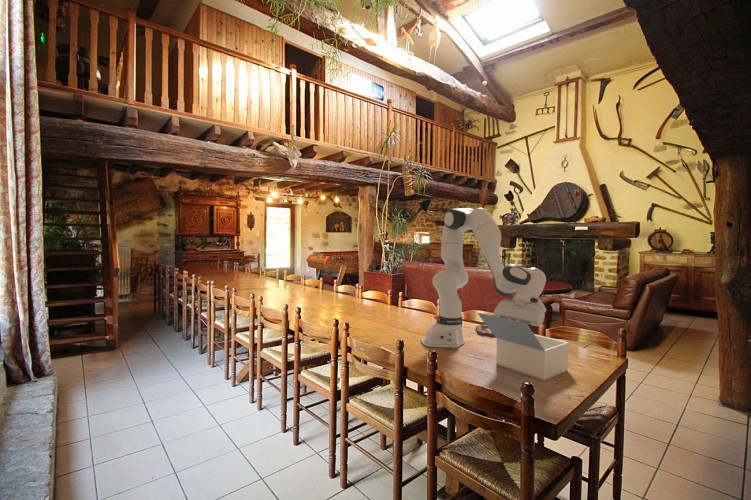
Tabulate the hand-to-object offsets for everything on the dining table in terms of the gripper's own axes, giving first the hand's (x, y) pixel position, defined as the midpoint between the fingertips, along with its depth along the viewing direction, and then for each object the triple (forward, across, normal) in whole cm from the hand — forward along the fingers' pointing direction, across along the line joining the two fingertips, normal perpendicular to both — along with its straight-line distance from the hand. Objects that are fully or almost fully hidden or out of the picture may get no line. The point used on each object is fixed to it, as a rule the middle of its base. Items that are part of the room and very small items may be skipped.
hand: (510, 329), depth 143 cm
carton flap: (0, 0, +1) cm, 1 cm away
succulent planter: (-21, -43, +49) cm, 69 cm away
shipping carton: (+3, 0, +25) cm, 25 cm away
